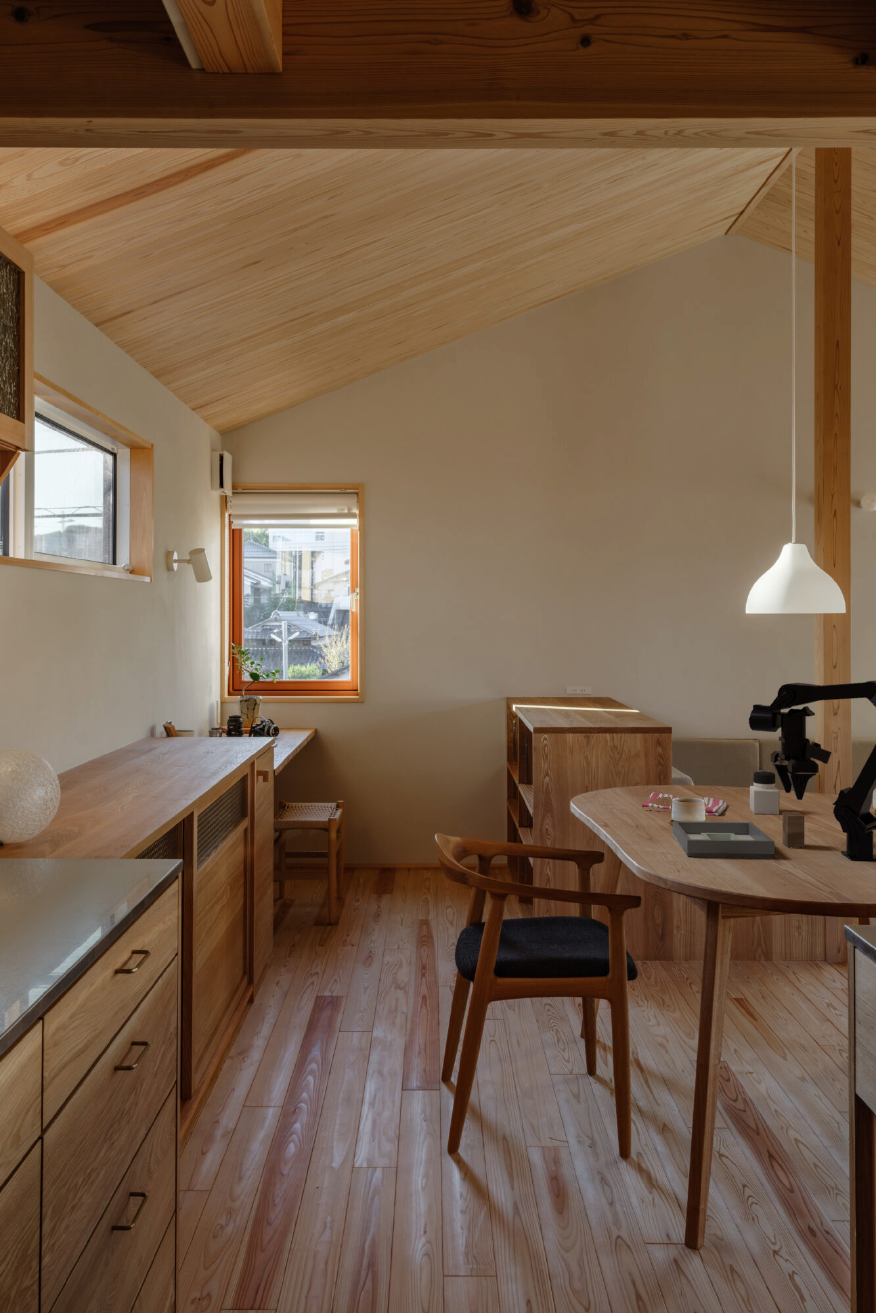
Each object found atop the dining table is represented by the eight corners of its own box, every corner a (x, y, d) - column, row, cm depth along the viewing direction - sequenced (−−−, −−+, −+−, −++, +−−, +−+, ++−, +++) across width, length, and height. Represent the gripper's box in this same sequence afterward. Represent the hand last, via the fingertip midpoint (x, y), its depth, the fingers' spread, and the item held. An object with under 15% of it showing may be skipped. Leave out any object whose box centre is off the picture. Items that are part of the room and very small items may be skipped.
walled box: (774, 858, 197) (774, 841, 197) (687, 856, 200) (687, 840, 199) (751, 837, 217) (751, 822, 217) (672, 836, 219) (672, 821, 219)
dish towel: (650, 801, 268) (650, 790, 268) (727, 806, 258) (727, 795, 258) (640, 812, 252) (640, 800, 252) (722, 818, 243) (722, 806, 243)
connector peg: (804, 848, 206) (804, 815, 206) (787, 847, 207) (787, 815, 207) (799, 844, 210) (799, 812, 210) (782, 843, 211) (782, 812, 211)
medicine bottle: (779, 814, 244) (779, 773, 243) (753, 814, 245) (753, 773, 245) (774, 809, 251) (774, 769, 250) (749, 809, 252) (749, 769, 252)
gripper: (841, 738, 198) (841, 804, 198) (814, 729, 216) (814, 789, 217) (792, 738, 199) (792, 803, 199) (769, 729, 218) (770, 789, 218)
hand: (793, 796), depth 208 cm, fingers open, 9 cm apart
